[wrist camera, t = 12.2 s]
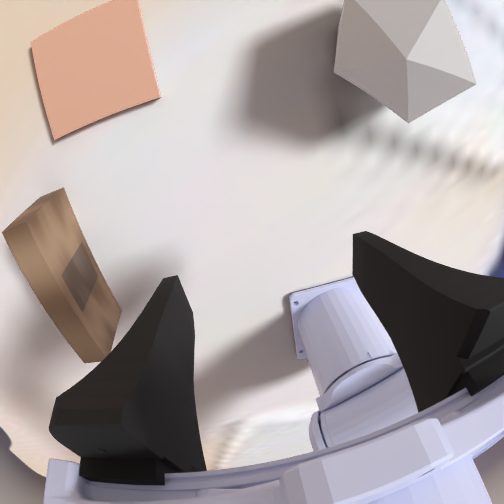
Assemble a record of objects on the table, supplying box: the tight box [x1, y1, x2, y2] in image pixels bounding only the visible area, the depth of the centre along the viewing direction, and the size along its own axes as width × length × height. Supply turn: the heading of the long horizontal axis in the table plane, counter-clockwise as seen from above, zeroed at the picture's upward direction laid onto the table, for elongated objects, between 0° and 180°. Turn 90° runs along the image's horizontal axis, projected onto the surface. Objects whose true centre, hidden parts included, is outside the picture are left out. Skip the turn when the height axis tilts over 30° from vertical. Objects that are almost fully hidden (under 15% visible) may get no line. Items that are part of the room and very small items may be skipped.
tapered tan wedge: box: [2, 188, 121, 363], centre depth 19 cm, size 12×2×6 cm, turn 10°
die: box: [334, 0, 476, 123], centre depth 13 cm, size 8×9×10 cm
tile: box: [31, 0, 161, 140], centre depth 14 cm, size 1×8×8 cm
